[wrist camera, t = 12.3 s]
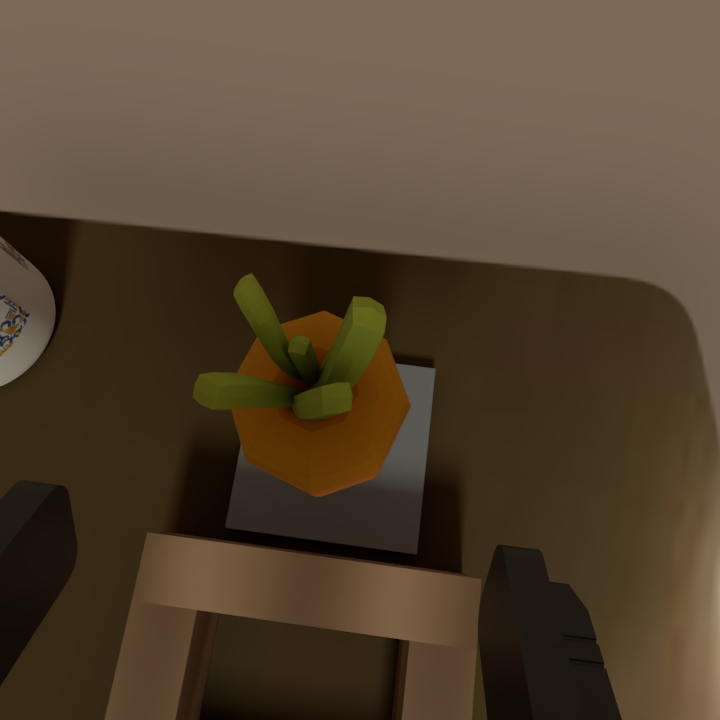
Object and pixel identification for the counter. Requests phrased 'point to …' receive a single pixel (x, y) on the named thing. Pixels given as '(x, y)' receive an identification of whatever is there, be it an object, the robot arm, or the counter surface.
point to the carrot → (312, 393)
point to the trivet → (348, 490)
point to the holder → (290, 621)
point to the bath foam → (22, 313)
